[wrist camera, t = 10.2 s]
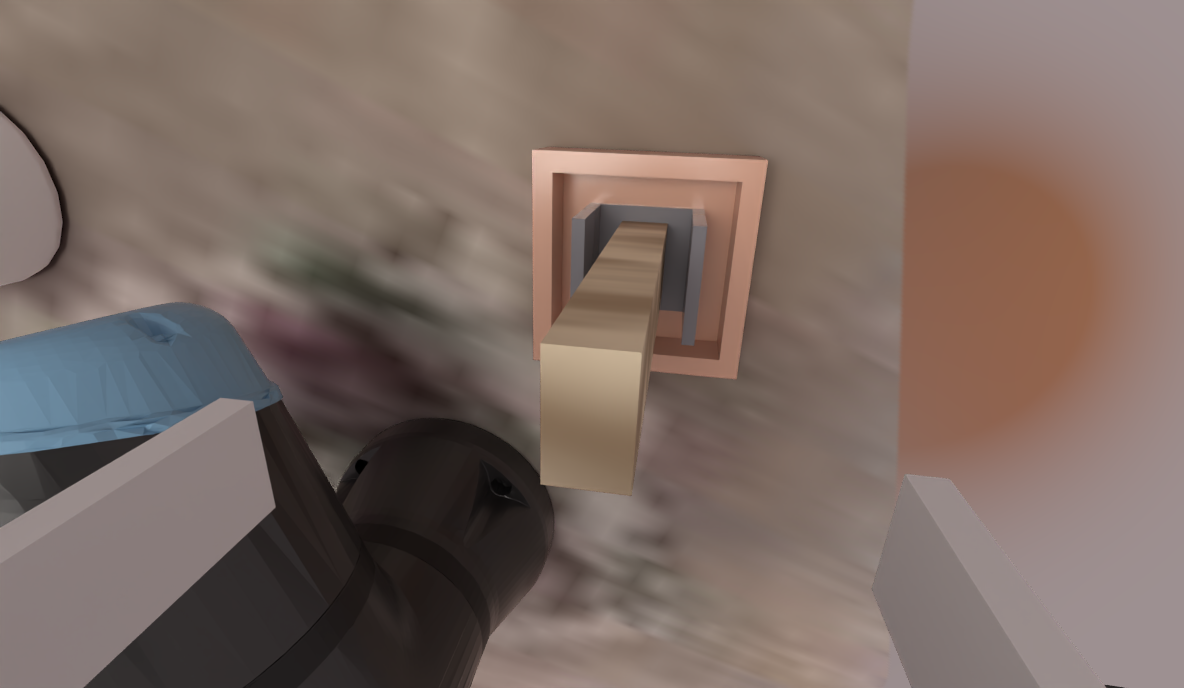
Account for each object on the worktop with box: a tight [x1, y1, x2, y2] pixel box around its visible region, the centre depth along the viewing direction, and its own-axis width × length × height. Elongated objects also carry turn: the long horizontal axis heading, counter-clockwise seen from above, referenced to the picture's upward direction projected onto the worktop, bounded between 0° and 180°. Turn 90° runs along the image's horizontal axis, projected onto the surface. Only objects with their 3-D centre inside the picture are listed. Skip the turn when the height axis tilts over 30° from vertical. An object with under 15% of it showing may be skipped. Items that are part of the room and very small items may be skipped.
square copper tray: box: [532, 147, 768, 379], centre depth 28 cm, size 11×11×6 cm
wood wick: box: [540, 221, 668, 496], centre depth 22 cm, size 4×2×18 cm, turn 178°
